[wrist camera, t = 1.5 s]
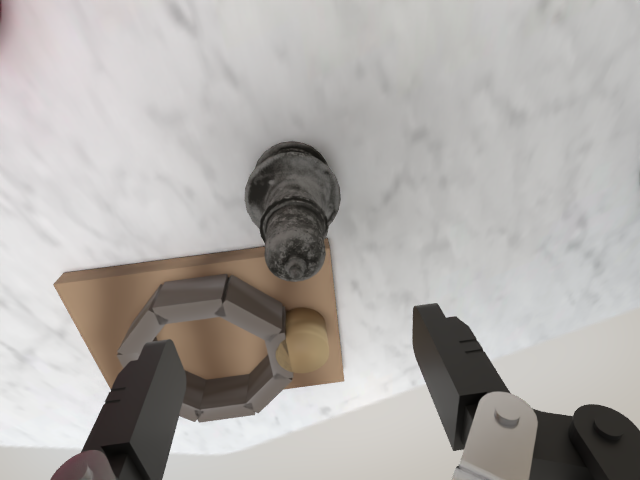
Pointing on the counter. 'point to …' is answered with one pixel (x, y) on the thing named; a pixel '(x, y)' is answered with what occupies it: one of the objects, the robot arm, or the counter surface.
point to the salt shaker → (293, 208)
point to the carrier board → (212, 326)
